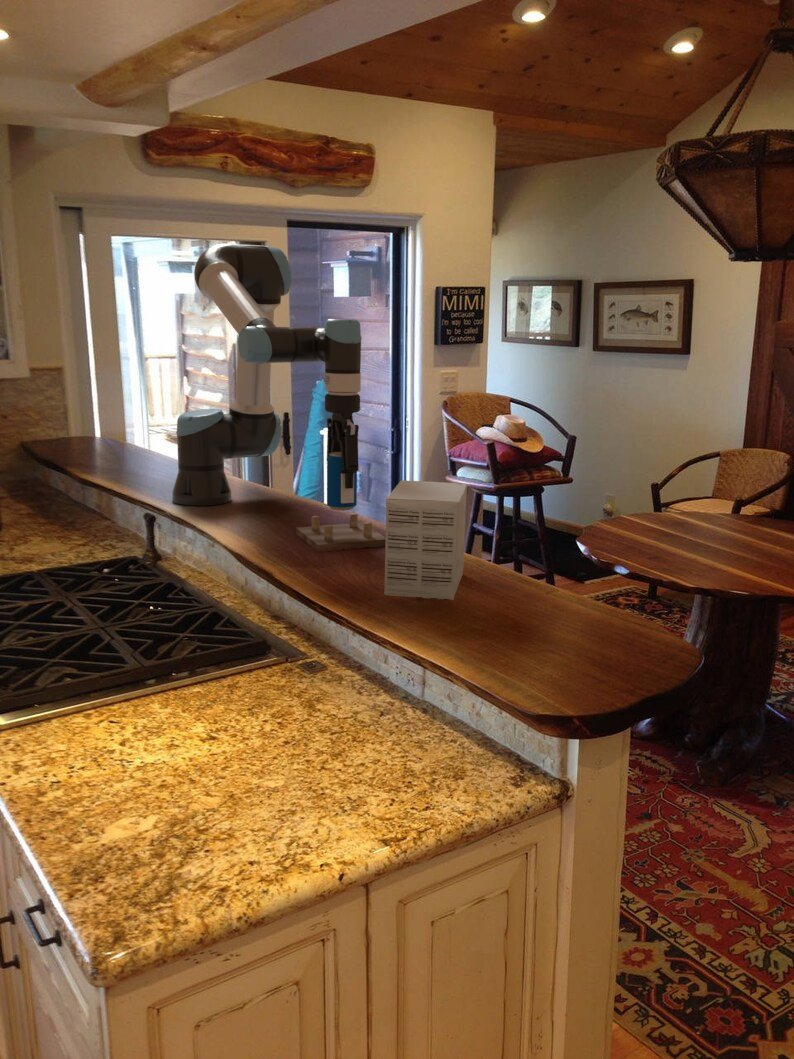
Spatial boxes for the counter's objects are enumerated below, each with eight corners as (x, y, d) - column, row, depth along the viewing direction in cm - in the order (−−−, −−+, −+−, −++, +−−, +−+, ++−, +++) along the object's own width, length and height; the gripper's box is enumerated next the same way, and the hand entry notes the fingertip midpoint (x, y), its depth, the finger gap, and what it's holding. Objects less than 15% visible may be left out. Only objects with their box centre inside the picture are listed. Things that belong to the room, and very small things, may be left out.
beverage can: (358, 505, 202) (359, 452, 199) (354, 511, 196) (354, 456, 193) (329, 504, 203) (329, 451, 200) (324, 510, 196) (324, 455, 194)
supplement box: (397, 569, 180) (399, 479, 175) (464, 574, 178) (468, 483, 173) (381, 595, 163) (383, 497, 159) (455, 601, 161) (459, 501, 157)
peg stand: (296, 534, 205) (295, 514, 204) (362, 529, 211) (362, 510, 210) (317, 551, 191) (317, 530, 190) (388, 545, 197) (388, 525, 196)
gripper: (311, 389, 201) (312, 492, 206) (340, 397, 183) (340, 509, 189) (344, 389, 203) (343, 490, 209) (375, 397, 186) (373, 507, 192)
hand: (341, 499), depth 199 cm, fingers closed on beverage can, 6 cm apart
